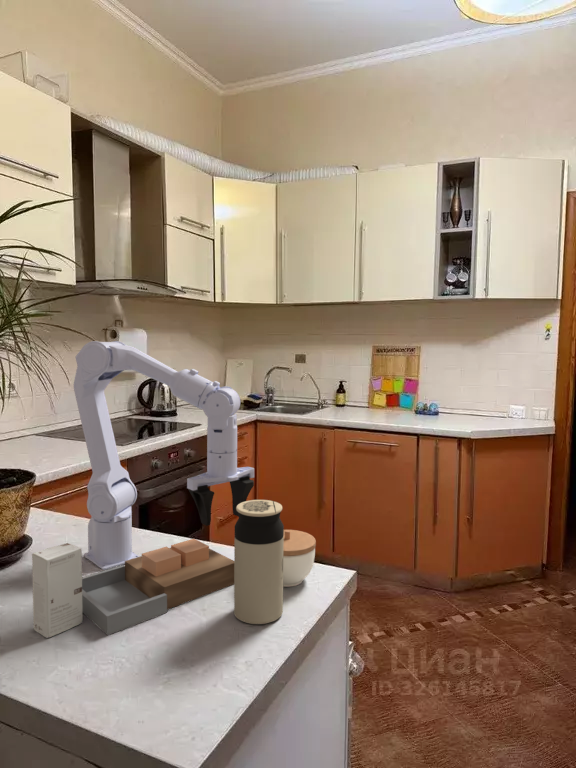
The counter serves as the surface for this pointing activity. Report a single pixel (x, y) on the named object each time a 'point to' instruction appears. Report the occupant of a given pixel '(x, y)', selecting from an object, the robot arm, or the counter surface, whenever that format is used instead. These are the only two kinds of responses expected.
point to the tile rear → (191, 551)
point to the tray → (117, 601)
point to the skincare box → (57, 589)
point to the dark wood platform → (182, 579)
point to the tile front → (161, 561)
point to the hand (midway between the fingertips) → (222, 519)
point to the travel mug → (258, 562)
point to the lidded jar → (297, 556)
